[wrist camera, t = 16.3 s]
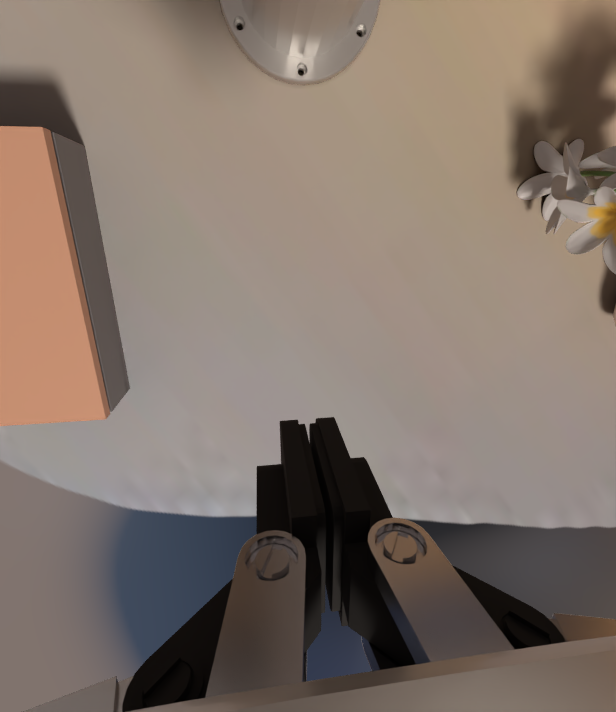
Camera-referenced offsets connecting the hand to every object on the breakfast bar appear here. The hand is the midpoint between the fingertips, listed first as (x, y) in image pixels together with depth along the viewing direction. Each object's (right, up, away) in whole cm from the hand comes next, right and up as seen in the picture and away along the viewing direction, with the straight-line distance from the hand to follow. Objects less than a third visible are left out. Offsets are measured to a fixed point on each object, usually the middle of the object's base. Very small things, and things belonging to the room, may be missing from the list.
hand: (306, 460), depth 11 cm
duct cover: (-23, +8, +17) cm, 30 cm away
